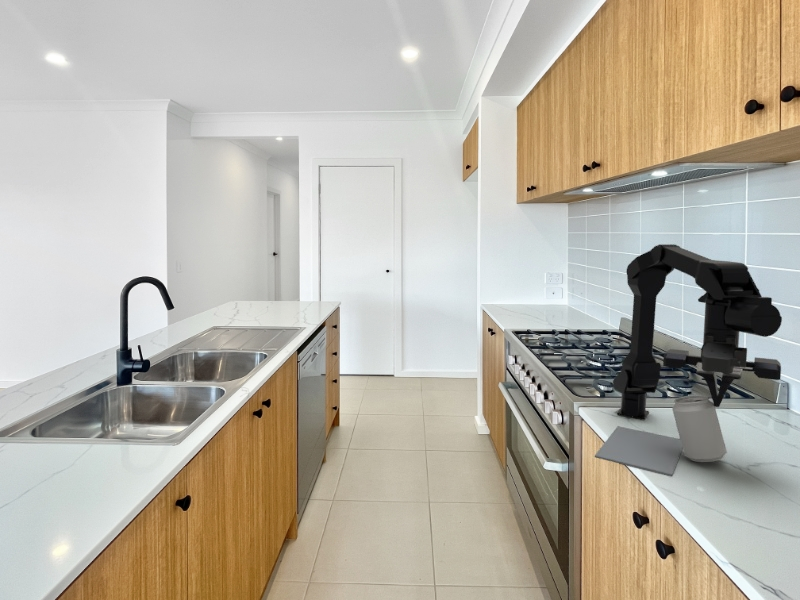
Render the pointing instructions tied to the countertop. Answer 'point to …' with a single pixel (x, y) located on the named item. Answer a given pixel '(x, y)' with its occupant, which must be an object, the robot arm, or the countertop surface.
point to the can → (699, 428)
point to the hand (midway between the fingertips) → (716, 406)
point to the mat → (642, 450)
